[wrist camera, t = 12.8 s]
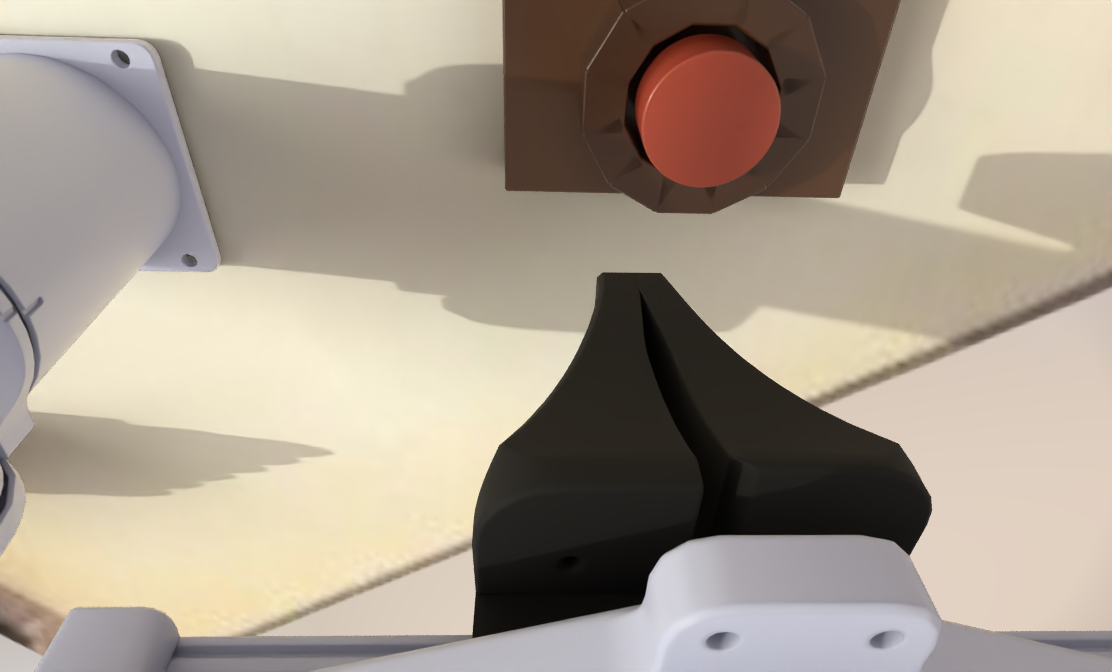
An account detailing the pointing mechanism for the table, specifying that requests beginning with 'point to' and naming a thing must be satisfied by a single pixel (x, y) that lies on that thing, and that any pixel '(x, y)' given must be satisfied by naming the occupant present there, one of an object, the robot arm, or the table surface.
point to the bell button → (706, 110)
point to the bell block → (625, 53)
